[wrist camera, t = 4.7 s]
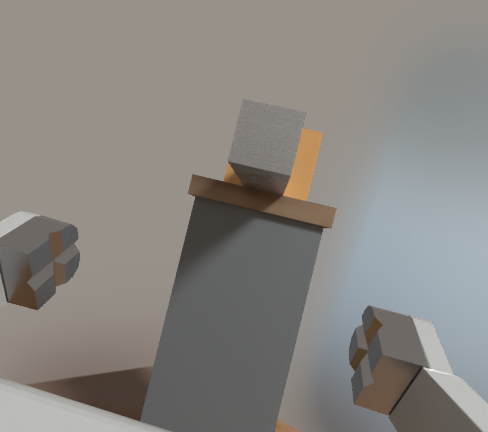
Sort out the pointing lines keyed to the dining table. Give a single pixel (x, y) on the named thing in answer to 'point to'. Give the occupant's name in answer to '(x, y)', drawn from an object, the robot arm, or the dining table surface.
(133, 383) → the dining table surface
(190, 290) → the cabinet stand
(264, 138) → the bar
